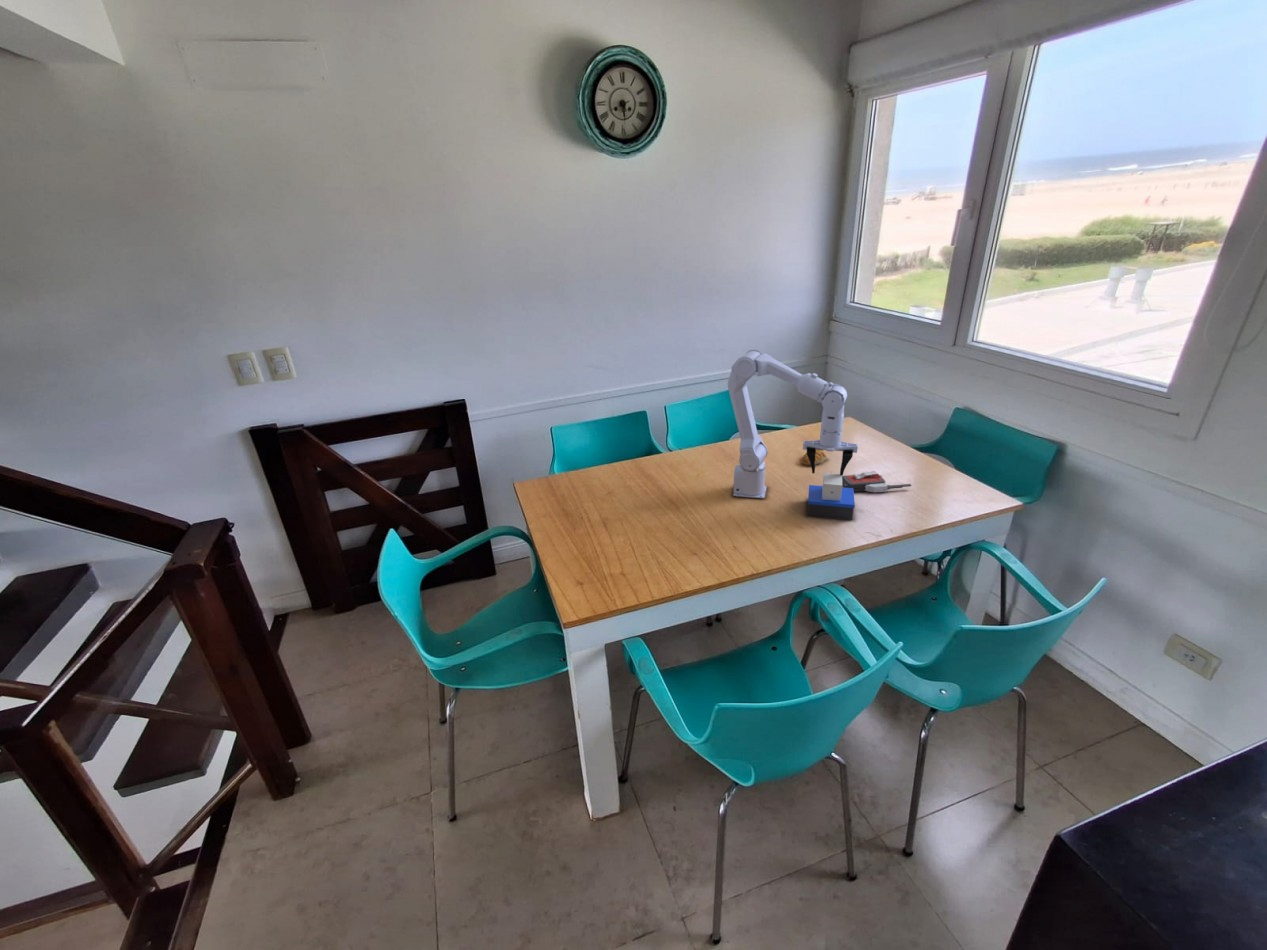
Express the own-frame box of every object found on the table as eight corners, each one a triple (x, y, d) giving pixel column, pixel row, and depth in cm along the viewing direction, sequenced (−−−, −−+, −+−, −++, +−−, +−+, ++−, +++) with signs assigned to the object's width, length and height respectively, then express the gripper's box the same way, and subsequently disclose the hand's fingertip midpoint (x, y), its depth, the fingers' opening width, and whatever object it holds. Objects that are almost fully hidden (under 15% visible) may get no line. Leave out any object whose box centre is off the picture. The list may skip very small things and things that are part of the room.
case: (840, 501, 156) (842, 485, 154) (822, 499, 158) (823, 483, 156) (840, 489, 162) (841, 474, 160) (822, 488, 164) (823, 473, 162)
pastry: (816, 468, 187) (817, 458, 186) (797, 464, 191) (798, 454, 190) (827, 459, 194) (828, 449, 192) (809, 455, 198) (809, 445, 196)
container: (806, 516, 160) (808, 501, 158) (807, 499, 169) (809, 484, 167) (852, 520, 156) (854, 505, 154) (851, 503, 165) (853, 488, 163)
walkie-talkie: (847, 496, 169) (912, 490, 169) (848, 483, 167) (914, 477, 167) (836, 483, 177) (898, 478, 177) (837, 470, 175) (900, 465, 175)
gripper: (803, 432, 154) (800, 476, 160) (859, 435, 150) (854, 481, 155) (804, 423, 160) (801, 466, 166) (859, 426, 156) (853, 470, 161)
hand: (827, 473), depth 161 cm, fingers open, 7 cm apart
